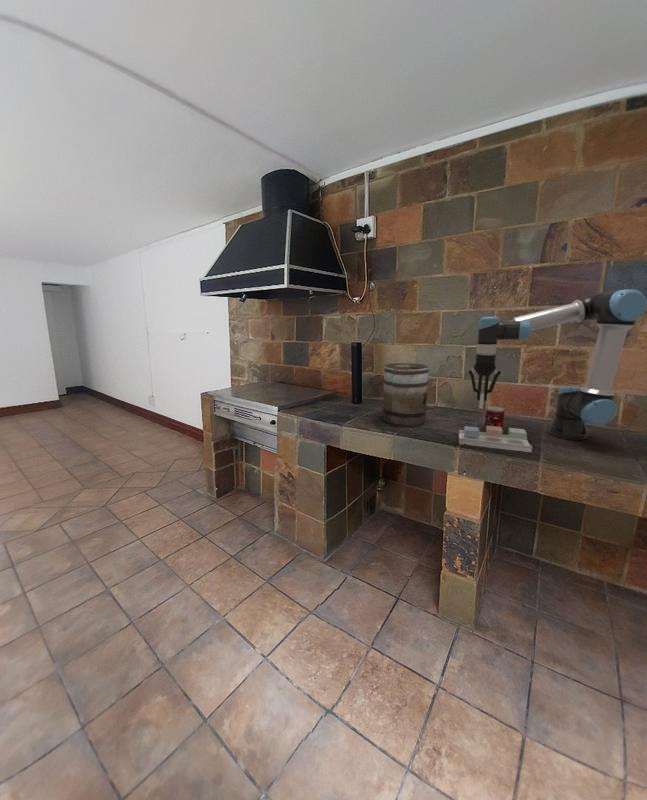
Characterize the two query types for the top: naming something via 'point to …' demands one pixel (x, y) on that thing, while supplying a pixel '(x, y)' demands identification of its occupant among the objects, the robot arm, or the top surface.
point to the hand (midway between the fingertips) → (480, 407)
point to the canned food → (494, 417)
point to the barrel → (405, 394)
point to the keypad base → (495, 442)
